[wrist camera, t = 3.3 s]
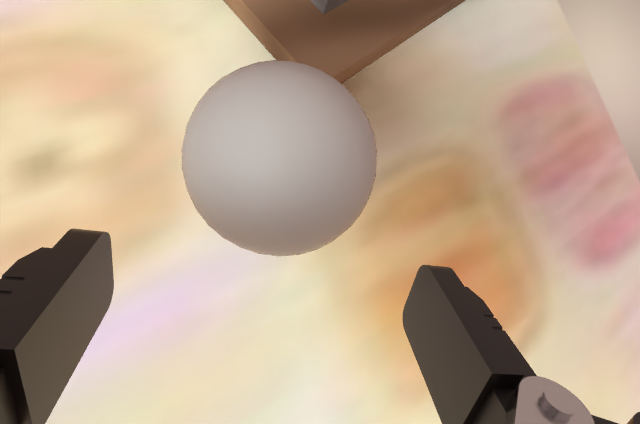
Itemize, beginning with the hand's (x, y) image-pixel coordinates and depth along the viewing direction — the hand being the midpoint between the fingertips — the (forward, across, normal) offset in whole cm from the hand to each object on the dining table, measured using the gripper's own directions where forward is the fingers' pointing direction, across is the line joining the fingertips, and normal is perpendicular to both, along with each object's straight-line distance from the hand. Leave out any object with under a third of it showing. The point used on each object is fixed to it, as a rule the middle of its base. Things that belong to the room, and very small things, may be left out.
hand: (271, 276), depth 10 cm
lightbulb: (+9, 0, +4) cm, 10 cm away
